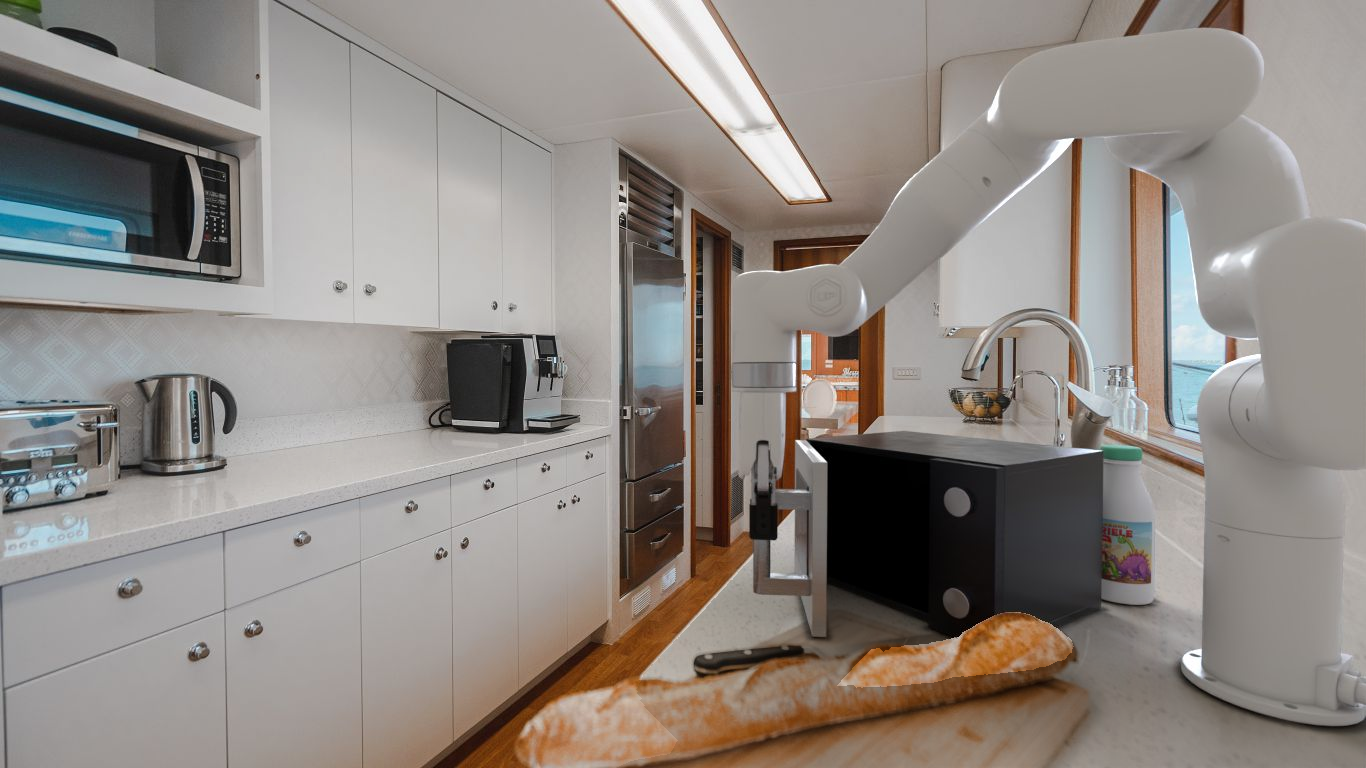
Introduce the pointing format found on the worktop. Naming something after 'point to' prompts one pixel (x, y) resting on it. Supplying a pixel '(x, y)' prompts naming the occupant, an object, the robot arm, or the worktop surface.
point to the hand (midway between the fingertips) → (763, 534)
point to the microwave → (964, 526)
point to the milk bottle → (1127, 529)
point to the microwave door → (801, 540)
